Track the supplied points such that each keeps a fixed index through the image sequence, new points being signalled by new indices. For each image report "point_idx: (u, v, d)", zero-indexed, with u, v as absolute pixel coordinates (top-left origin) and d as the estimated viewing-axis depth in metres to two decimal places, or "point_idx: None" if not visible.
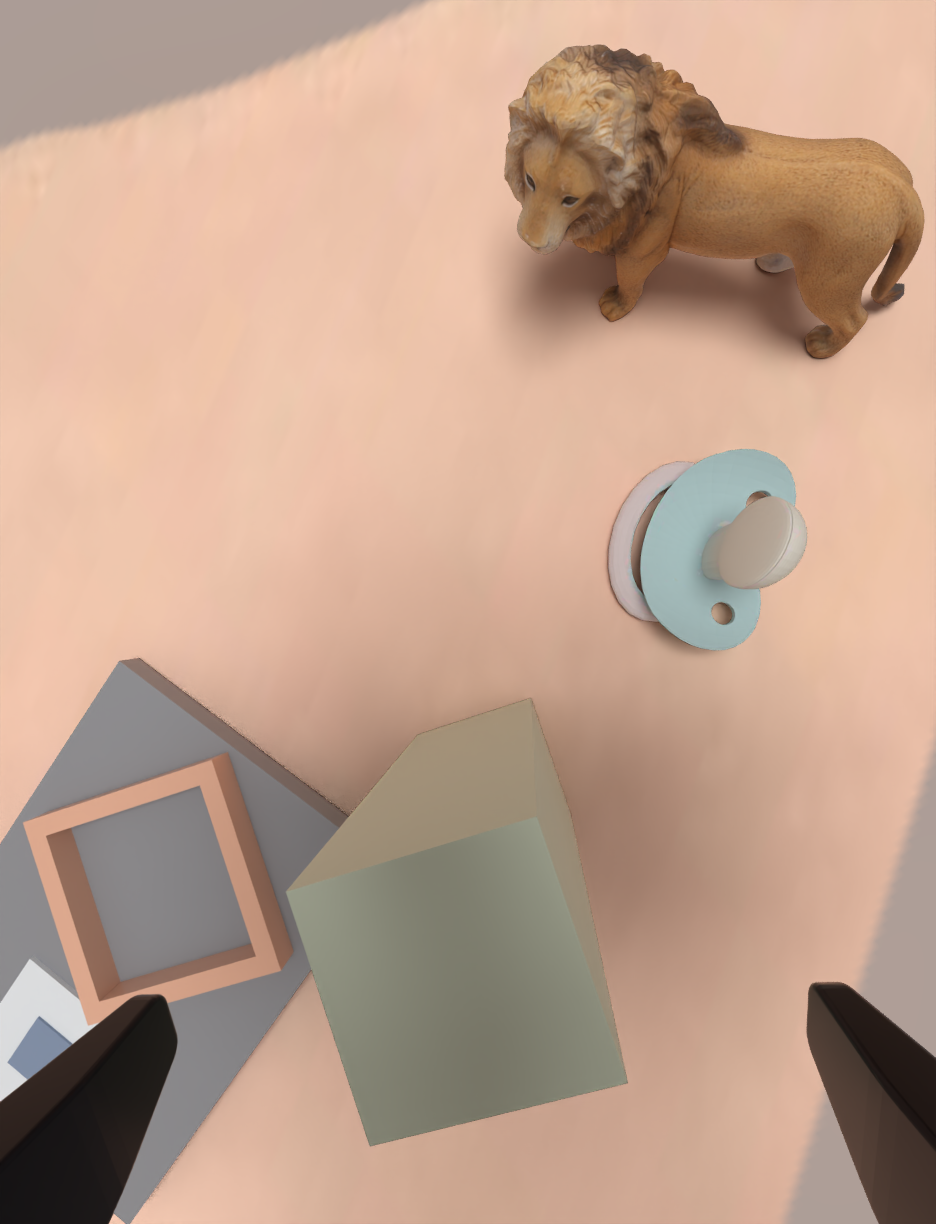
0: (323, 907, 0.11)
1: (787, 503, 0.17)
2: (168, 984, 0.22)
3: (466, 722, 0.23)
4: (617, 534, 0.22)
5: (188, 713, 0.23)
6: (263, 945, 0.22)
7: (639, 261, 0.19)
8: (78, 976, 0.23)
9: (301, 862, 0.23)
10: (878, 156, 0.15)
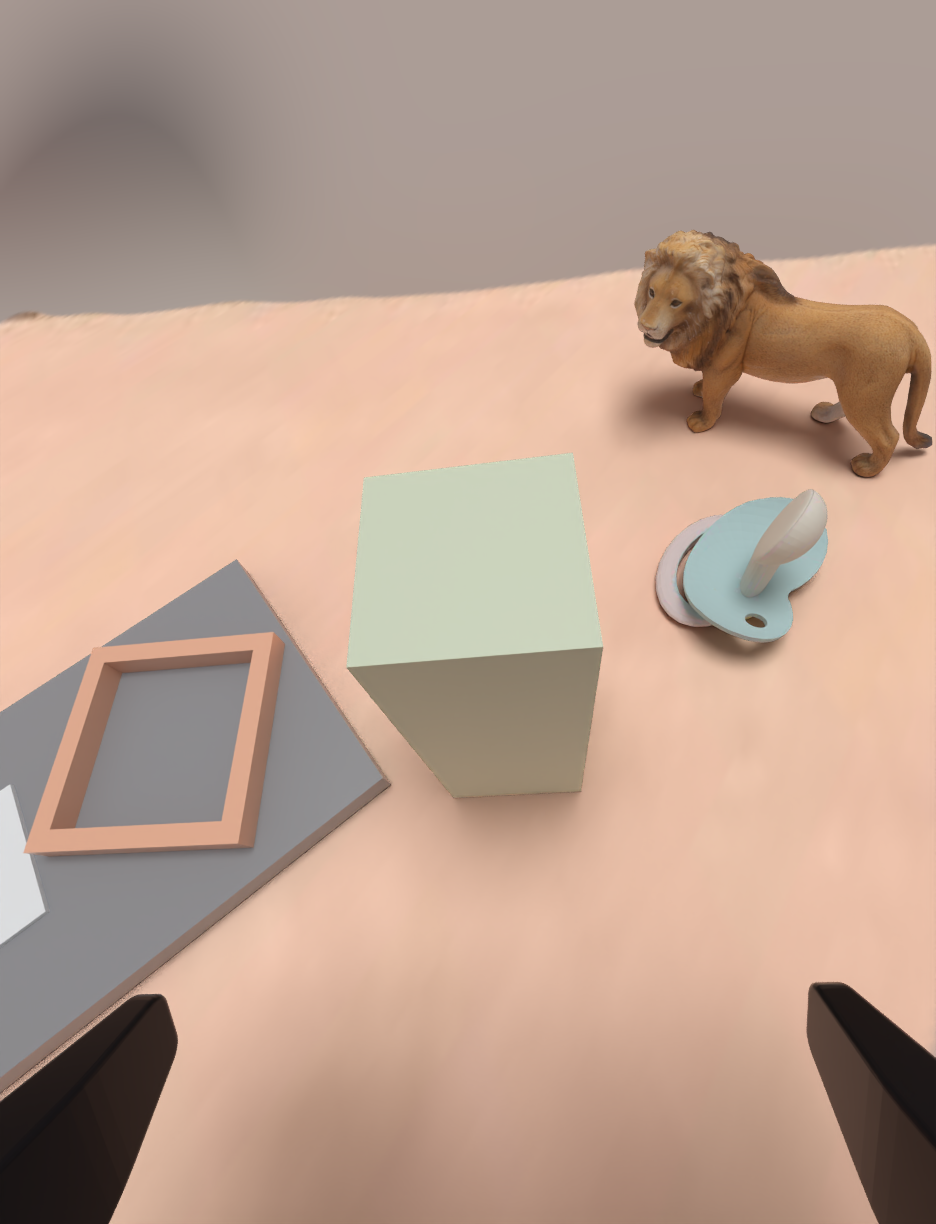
0: (388, 490, 0.13)
1: (810, 490, 0.21)
2: (123, 829, 0.21)
3: None
4: (667, 552, 0.26)
5: (268, 607, 0.27)
6: (233, 811, 0.21)
7: (720, 373, 0.27)
8: (47, 798, 0.22)
9: (303, 756, 0.23)
10: (890, 310, 0.23)
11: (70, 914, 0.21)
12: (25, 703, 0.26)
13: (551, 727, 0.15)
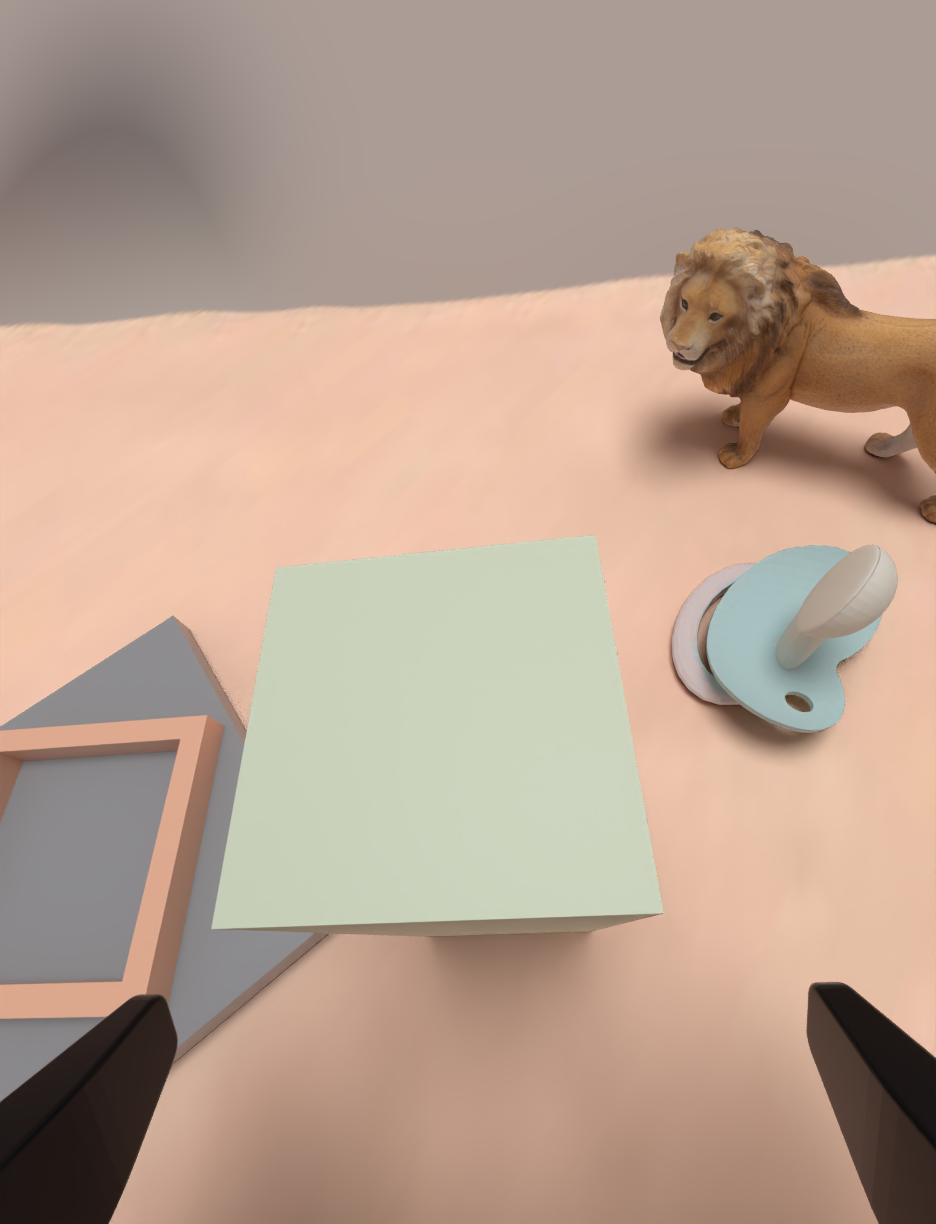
0: (309, 589, 0.09)
1: (873, 545, 0.16)
2: None
3: None
4: (685, 610, 0.21)
5: (207, 678, 0.22)
6: (139, 968, 0.16)
7: (763, 401, 0.22)
8: None
9: None
10: None
11: None
12: None
13: (559, 926, 0.10)
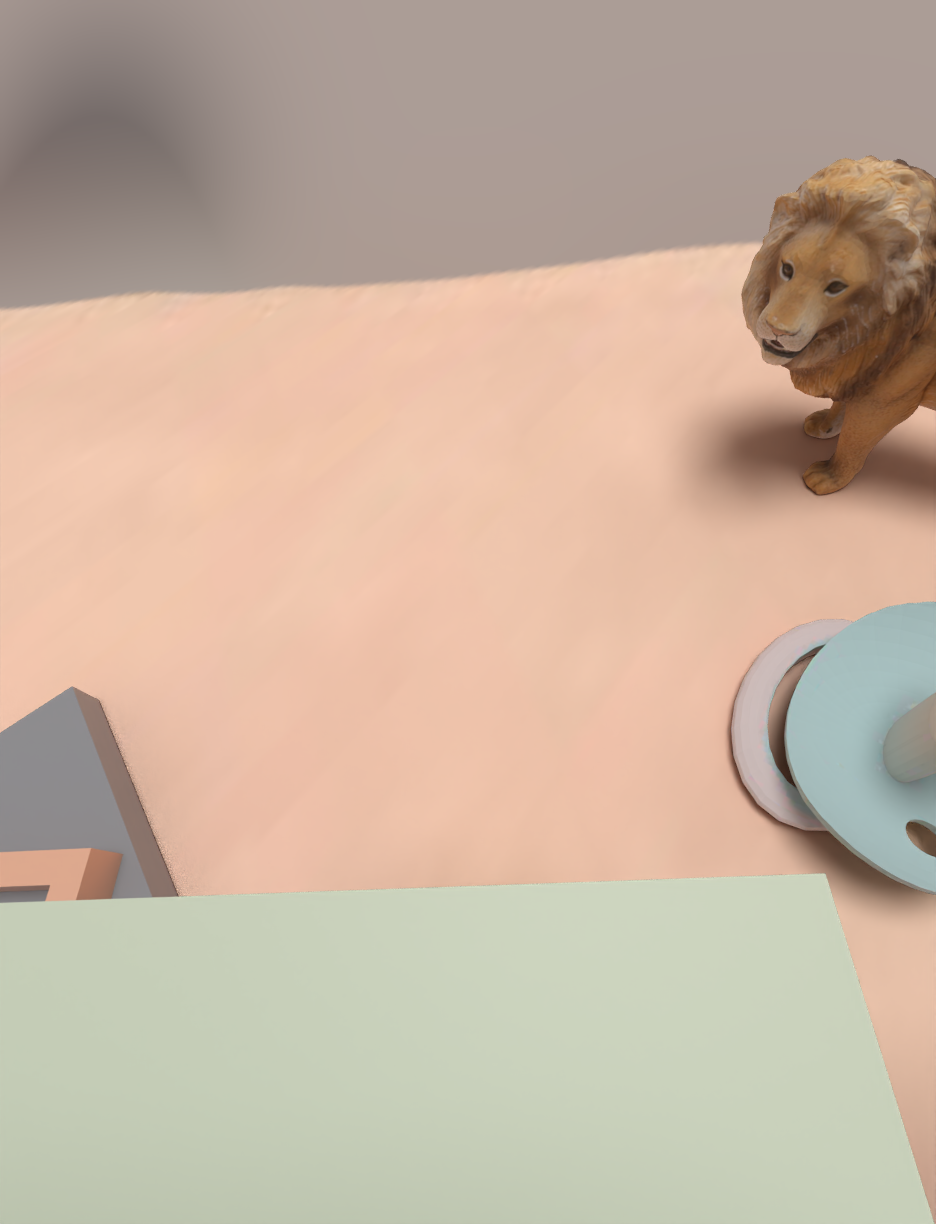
0: None
1: None
2: None
3: None
4: (749, 686, 0.16)
5: (107, 779, 0.16)
6: None
7: (883, 407, 0.16)
8: None
9: None
10: None
11: None
12: None
13: None
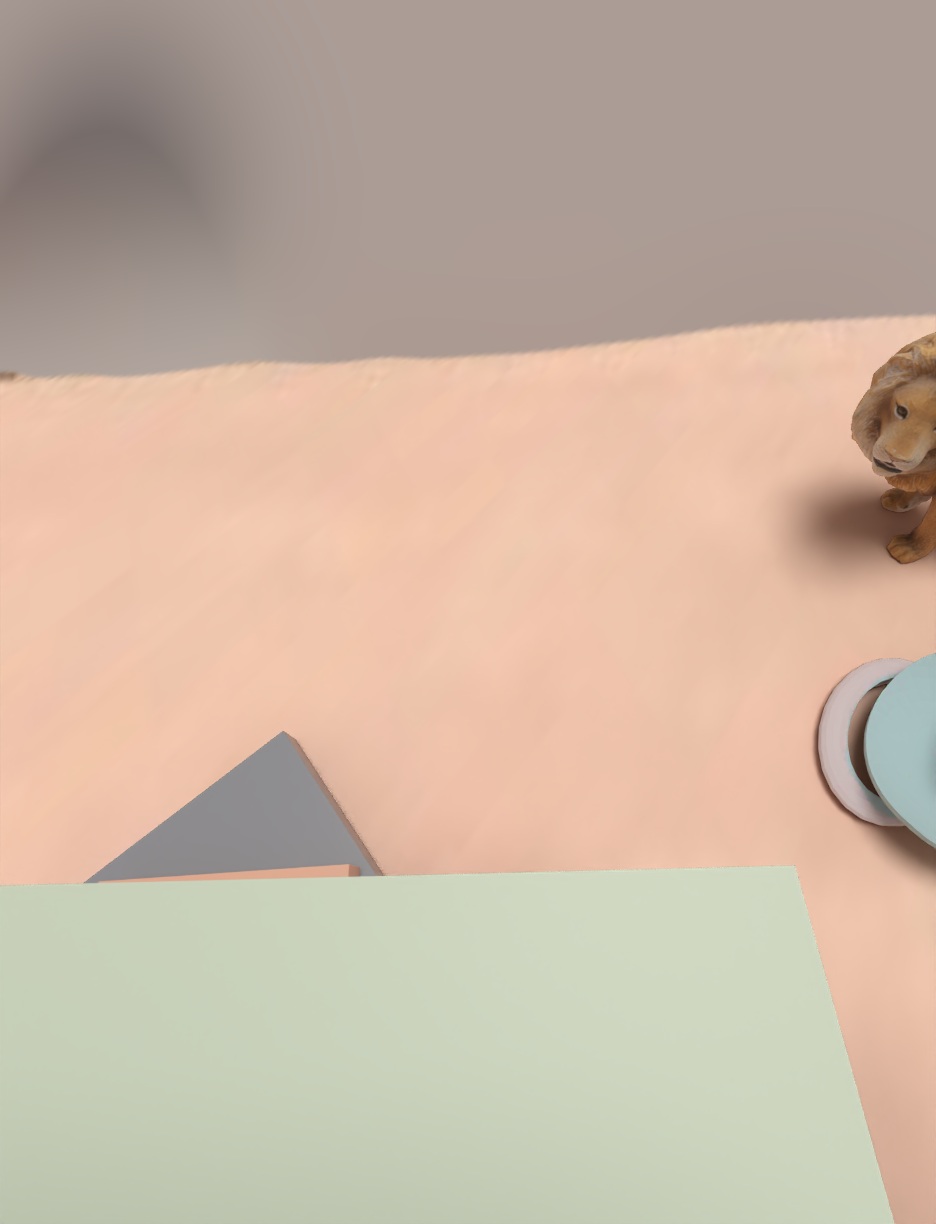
0: None
1: None
2: None
3: None
4: (830, 714, 0.20)
5: (332, 808, 0.20)
6: None
7: None
8: None
9: None
10: None
11: None
12: None
13: None
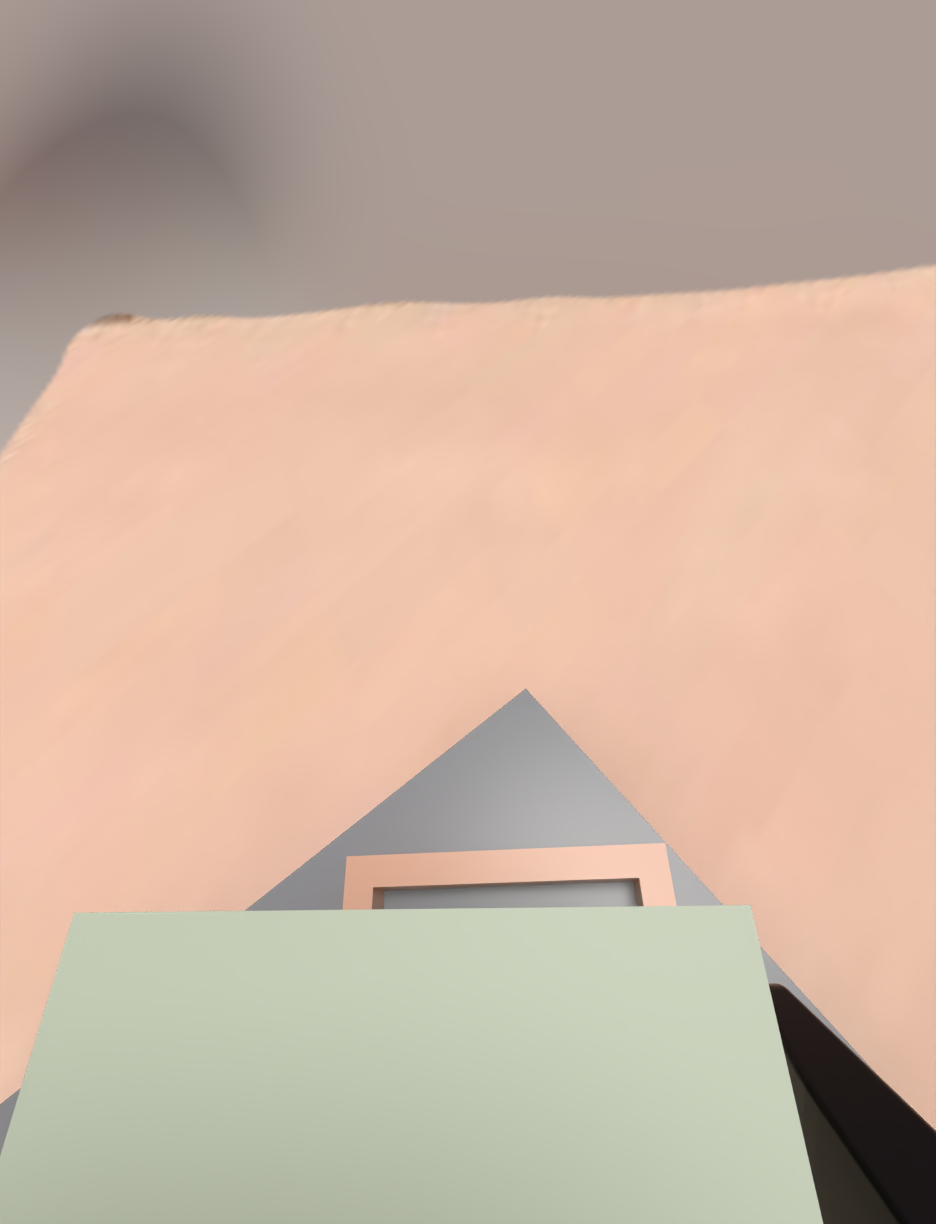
0: (129, 989, 0.04)
1: None
2: None
3: None
4: None
5: (606, 778, 0.17)
6: None
7: None
8: None
9: None
10: None
11: None
12: None
13: None
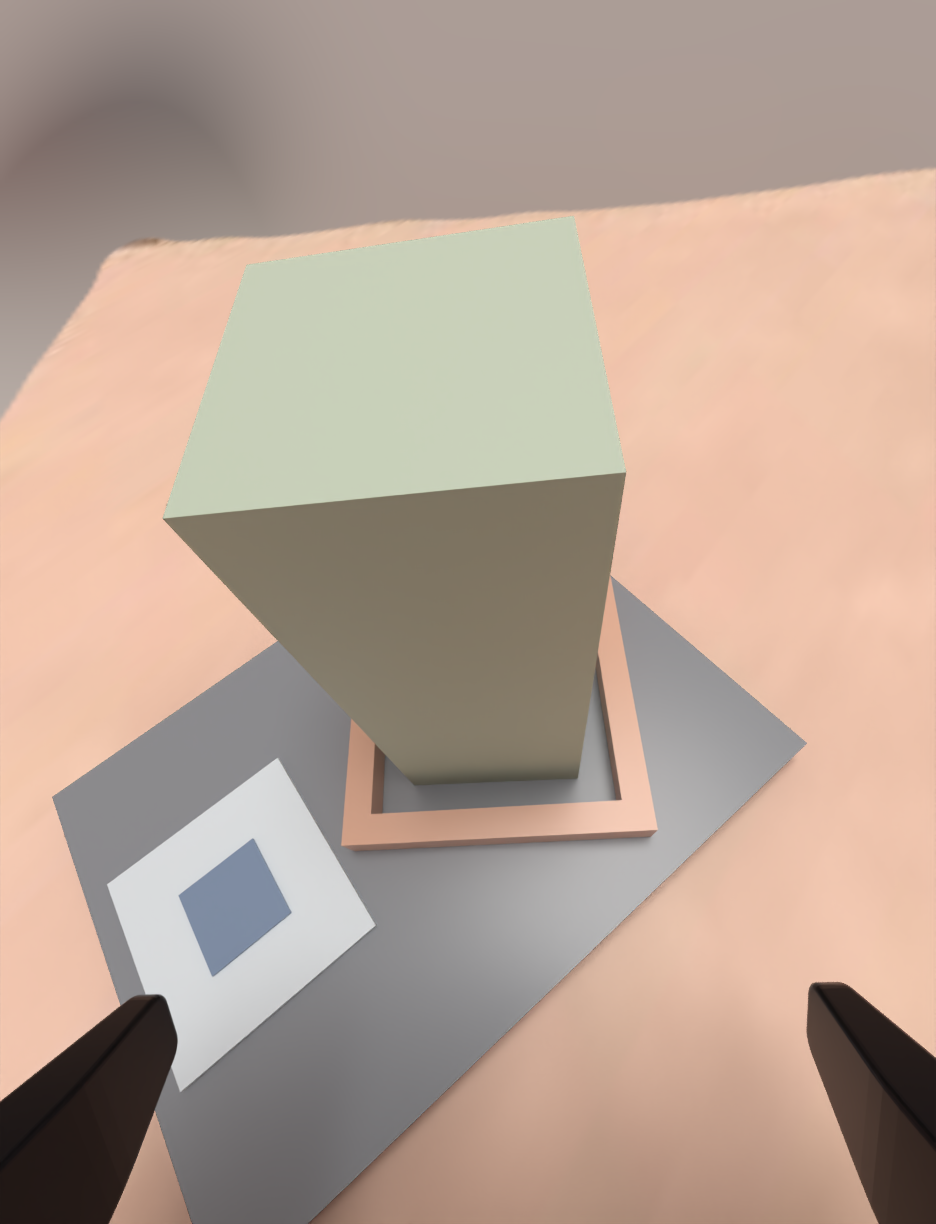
0: (280, 277, 0.08)
1: None
2: (479, 812, 0.16)
3: None
4: None
5: None
6: (635, 787, 0.15)
7: None
8: (356, 773, 0.17)
9: (680, 717, 0.17)
10: None
11: (409, 929, 0.15)
12: (268, 658, 0.20)
13: (535, 669, 0.10)
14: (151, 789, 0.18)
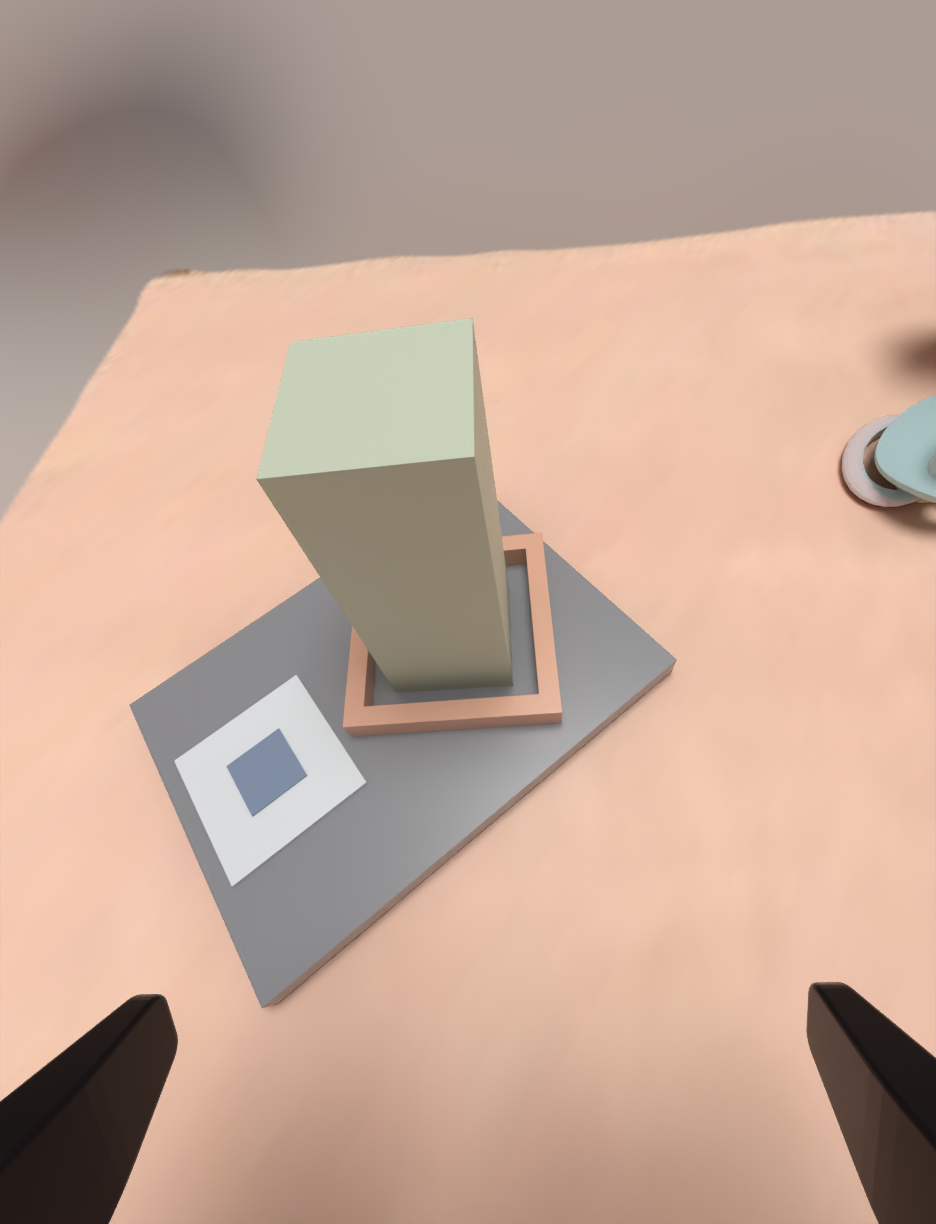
0: (309, 350, 0.15)
1: None
2: (440, 703, 0.22)
3: None
4: (850, 446, 0.28)
5: (516, 517, 0.28)
6: (549, 685, 0.22)
7: None
8: (353, 680, 0.23)
9: (589, 643, 0.24)
10: None
11: (390, 785, 0.22)
12: (288, 606, 0.27)
13: (459, 579, 0.16)
14: (203, 698, 0.25)
